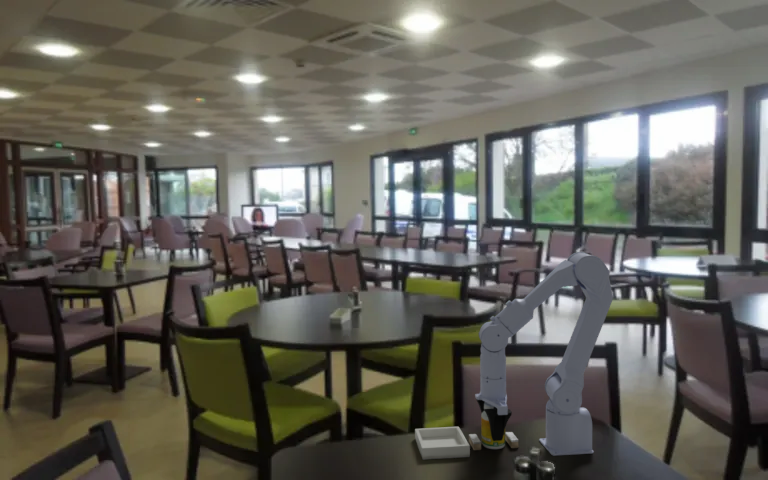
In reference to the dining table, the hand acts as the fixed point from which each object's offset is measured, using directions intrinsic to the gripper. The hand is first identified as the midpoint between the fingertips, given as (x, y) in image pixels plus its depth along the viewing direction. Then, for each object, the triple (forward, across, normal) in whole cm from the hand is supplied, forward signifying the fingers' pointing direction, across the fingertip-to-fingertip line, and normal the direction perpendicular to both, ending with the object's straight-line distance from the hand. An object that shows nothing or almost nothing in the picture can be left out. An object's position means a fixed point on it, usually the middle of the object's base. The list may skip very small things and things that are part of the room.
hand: (493, 434), depth 124 cm
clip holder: (+2, 0, 0) cm, 2 cm away
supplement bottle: (+3, 0, 0) cm, 3 cm away
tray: (+2, 0, -12) cm, 12 cm away
